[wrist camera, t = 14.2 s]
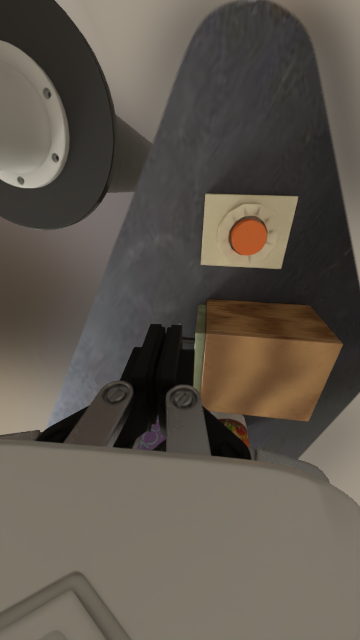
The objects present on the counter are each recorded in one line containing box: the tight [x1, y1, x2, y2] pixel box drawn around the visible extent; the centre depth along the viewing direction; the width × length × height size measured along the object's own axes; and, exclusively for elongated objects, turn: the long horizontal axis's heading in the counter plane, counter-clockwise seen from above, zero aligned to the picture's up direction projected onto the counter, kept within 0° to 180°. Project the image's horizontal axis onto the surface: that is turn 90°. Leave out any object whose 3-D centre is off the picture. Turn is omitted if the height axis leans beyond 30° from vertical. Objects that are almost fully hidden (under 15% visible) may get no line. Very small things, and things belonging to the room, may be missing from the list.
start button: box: [231, 218, 267, 255], centre depth 25 cm, size 4×4×2 cm
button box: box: [201, 194, 298, 269], centre depth 28 cm, size 10×8×4 cm
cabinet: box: [200, 299, 343, 421], centre depth 33 cm, size 15×13×10 cm
